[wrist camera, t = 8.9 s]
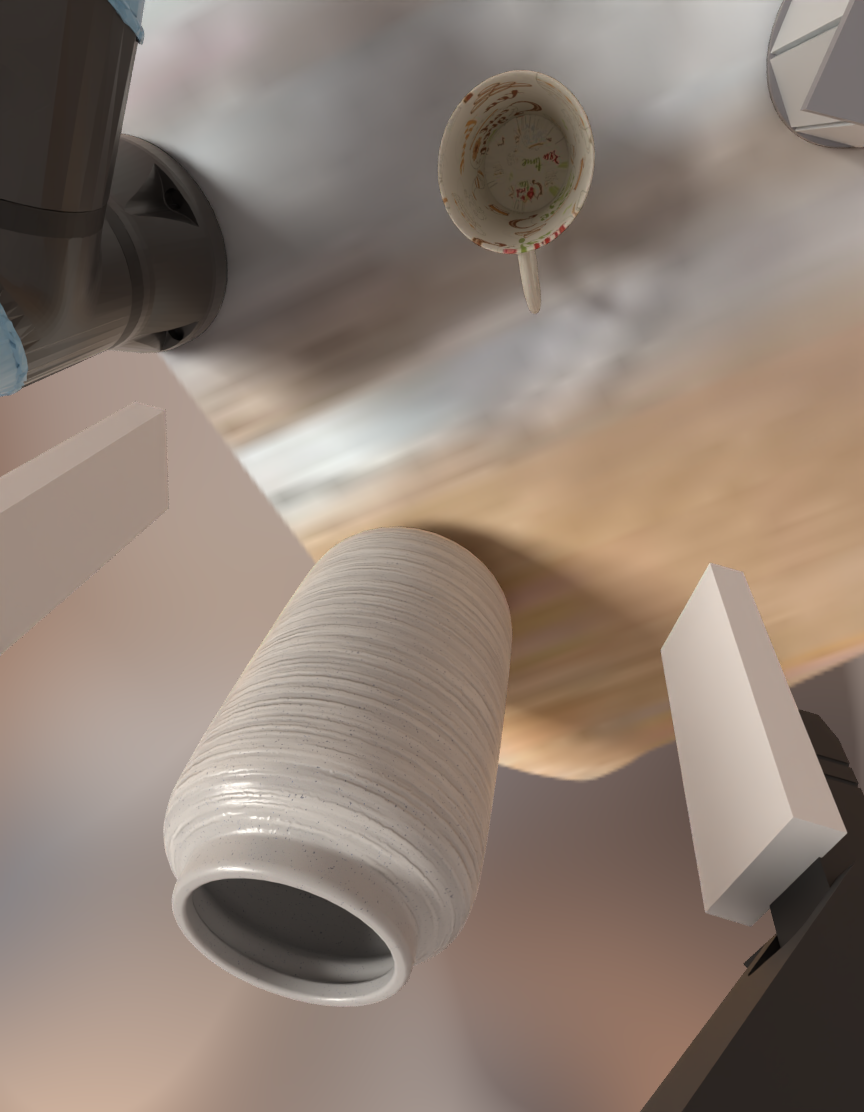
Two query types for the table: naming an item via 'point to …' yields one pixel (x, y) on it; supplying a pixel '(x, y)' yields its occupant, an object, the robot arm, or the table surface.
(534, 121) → the mug
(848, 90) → the grey french press
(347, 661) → the vase
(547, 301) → the table surface
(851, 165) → the table surface
